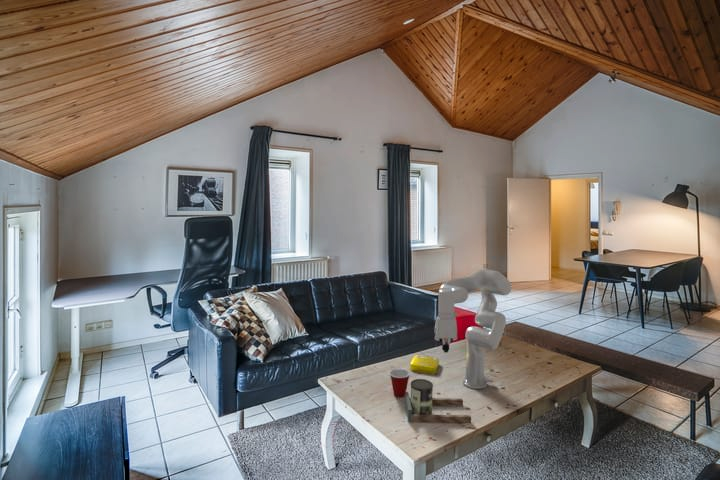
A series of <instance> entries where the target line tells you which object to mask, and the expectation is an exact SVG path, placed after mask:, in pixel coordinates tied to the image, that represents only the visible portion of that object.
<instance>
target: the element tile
mask: <svg viewBox="0 0 720 480" xmlns="http://www.w3.org/2000/svg"><path fill="white" fill-rule="evenodd" d="M439 366H440V359H439V357H434V356H426V355H422V354H421V355H420V354H415V355H414V356H413V358H412V360H411V361H410V364H409V367H410V369H409V370H410V371H412V372H417V373H424V374H430V375H435V374H436V373H437V370H438V369H439Z"/></svg>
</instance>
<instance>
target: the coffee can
mask: <svg viewBox="0 0 720 480" xmlns="http://www.w3.org/2000/svg"><path fill="white" fill-rule="evenodd" d="M433 387H434V384H433V382H431V380H428V379H425V378H416V379H413V380H411V382H410V398H411V408H412V414H420V415H433V406H432V398H433V391H434V390H433Z"/></svg>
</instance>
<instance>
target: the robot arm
mask: <svg viewBox="0 0 720 480" xmlns="http://www.w3.org/2000/svg"><path fill="white" fill-rule="evenodd" d="M478 290H480V295H481V300H480V304H479V306H478V309H477V311H476V314H475V317H474V322H475V324H476V325H477V326H475V325H474V326H473V325H471V326H470V327H468V328H466V331H465V342H466V359H465V361H466V362H465V363H466V364H465V377H463V379H462V384H463V385H464V386H465V387H467V388H469V389H473V390H482V389H485V388H486V387H487V385H488V382H489V383H493V382H494V378H493V377H490V376H485V365H486V364H485V363H486V362H485V361H486V352H485V349H488V350H493V351H494V350H496V349H497V348H498V346H499V344H500V341H501V339H502V336H503V333H504V331H505V327H506V323H507V321H506V320H507V319H506V316H505V315H504V313H502V312H500V311H499V312H498V311H496V309H497V306H498V301H497V298H496V296H495V295H500V296H509V295H510V294H511V292H512V284H511V281H510V280H509V279H508V278H507V277H506V276H505V275H504V274H503V273H501V272H499V270H492V269H486V268H480V269H478V270H476V271H474V272H472V273H471V274H469V275H468V276H464V277H458V278H454V279H449V280H448V281H446V282H444V283H443V284H442V285H440V287H439V290H438V301H437V303H438V304H437V305H438V306H437V308H438V311H437V316H436V318H435V324H434V340H435V341H438V342H440V343H442V344H441V348H442V351H443V352H444V353H445V354H446V353H449V351H450V344H452V342H453V341H456V340H458V328H457V327H458V324H457V318H456V316H458V312H456V311H455V305H456V304H463V303H465V302H466V301H467V300H468V297H469V293H475V292H477V291H478ZM494 294H495V295H494Z"/></svg>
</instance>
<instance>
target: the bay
mask: <svg viewBox="0 0 720 480" xmlns="http://www.w3.org/2000/svg"><path fill="white" fill-rule="evenodd" d="M437 406H439V407H441V406H442V407H444V406H445V407H463V406H464V400H463V398H442V397H441V398H440V397H438V398H435V397H432V407H437ZM404 407H405V412H406V417H407V422H408V423H416V424H417V423H420V424H421V423H422V424H423V423H424V424H465V423H471V424H472V415H470V414H469V415H468V414H432V415H420V414H412V408H411V397H410V393H409V391H406V392H405V396H404Z"/></svg>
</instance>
